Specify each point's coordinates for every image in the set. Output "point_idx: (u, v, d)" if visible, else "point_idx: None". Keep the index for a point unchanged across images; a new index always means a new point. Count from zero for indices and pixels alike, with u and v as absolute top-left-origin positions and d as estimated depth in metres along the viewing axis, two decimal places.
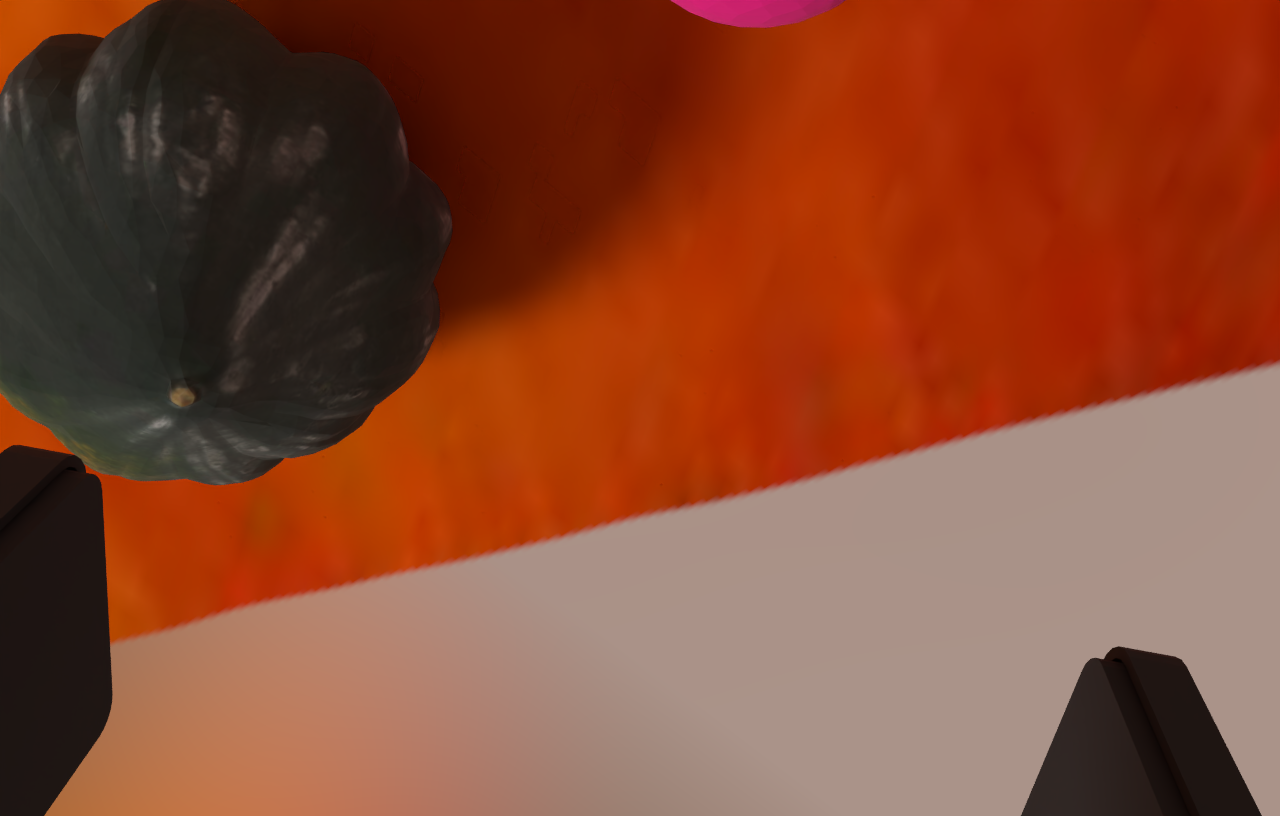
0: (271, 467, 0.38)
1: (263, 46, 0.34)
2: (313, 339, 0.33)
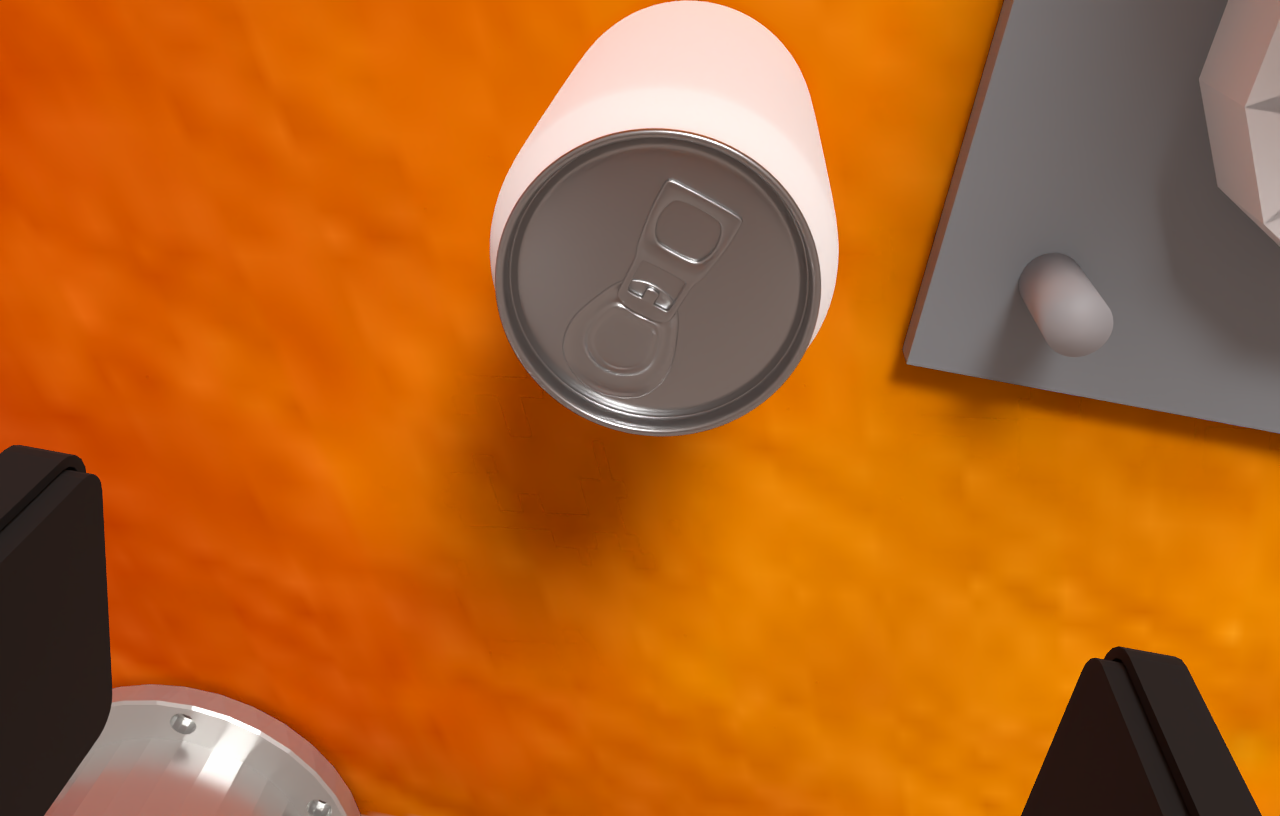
0: None
1: None
2: None
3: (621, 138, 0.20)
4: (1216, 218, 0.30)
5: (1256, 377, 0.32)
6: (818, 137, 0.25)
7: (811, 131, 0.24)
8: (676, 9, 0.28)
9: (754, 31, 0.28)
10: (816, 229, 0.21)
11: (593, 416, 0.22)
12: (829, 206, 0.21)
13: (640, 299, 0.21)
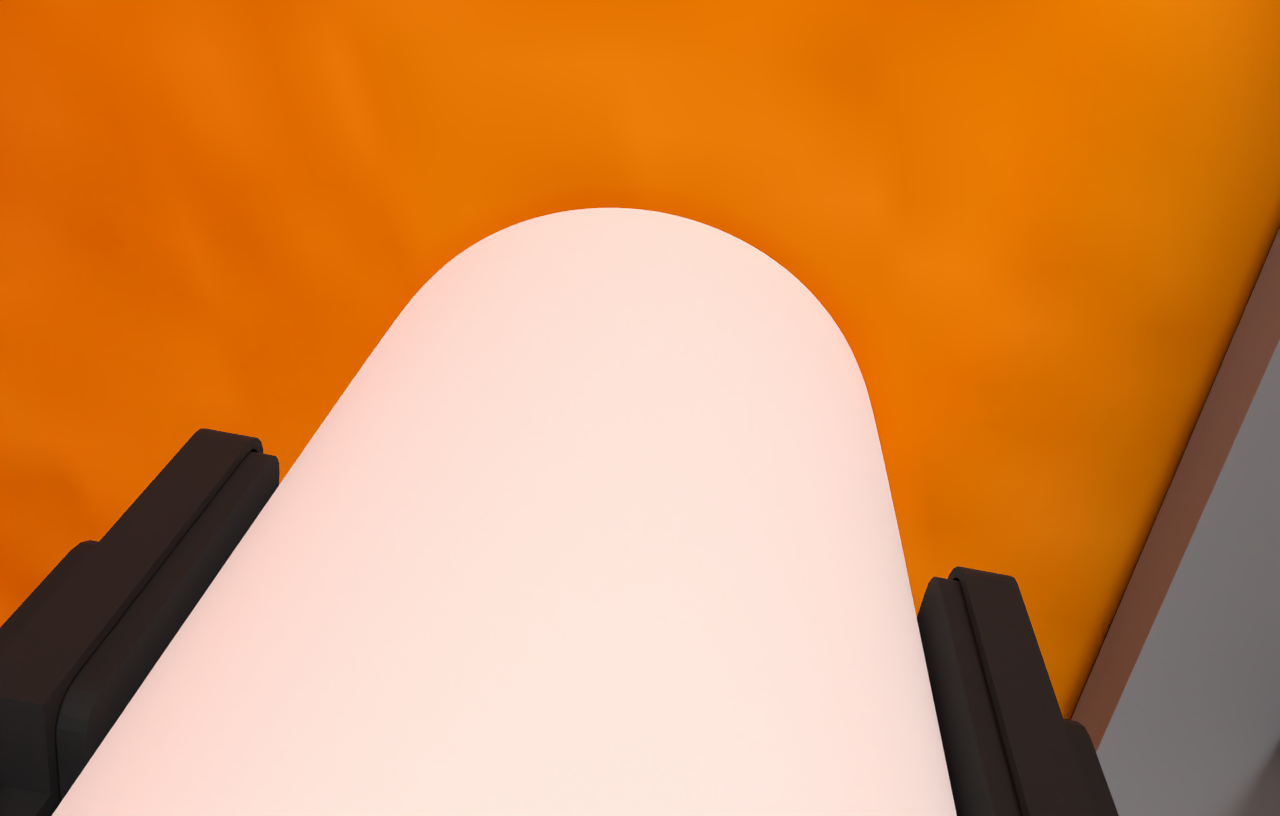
0: None
1: None
2: None
3: None
4: None
5: None
6: (921, 664, 0.10)
7: (917, 731, 0.08)
8: (577, 251, 0.13)
9: (752, 306, 0.12)
10: None
11: None
12: None
13: None
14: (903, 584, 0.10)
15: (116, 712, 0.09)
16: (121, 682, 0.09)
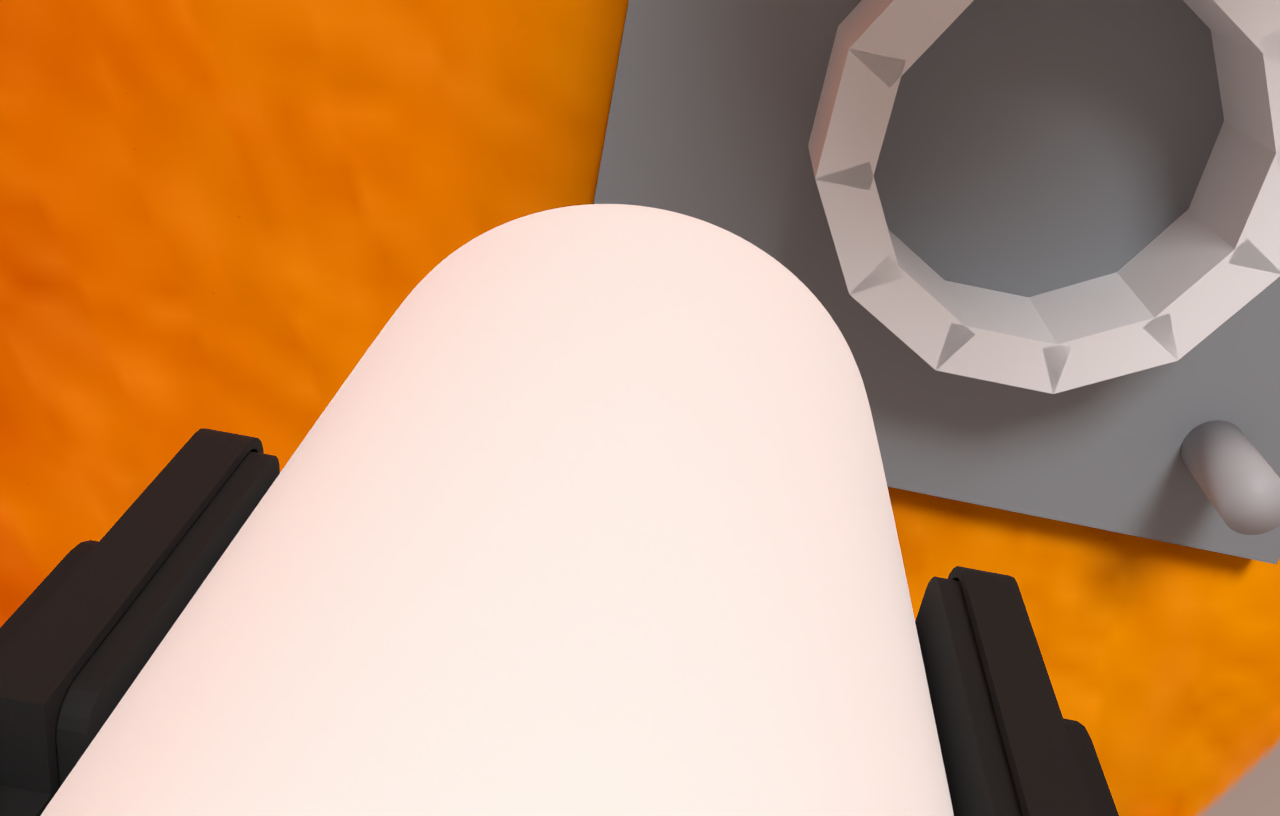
0: None
1: None
2: None
3: None
4: (842, 282, 0.30)
5: (899, 439, 0.32)
6: (918, 660, 0.09)
7: (913, 726, 0.08)
8: (574, 247, 0.12)
9: (749, 302, 0.12)
10: None
11: None
12: None
13: None
14: (900, 580, 0.10)
15: None
16: (122, 682, 0.09)
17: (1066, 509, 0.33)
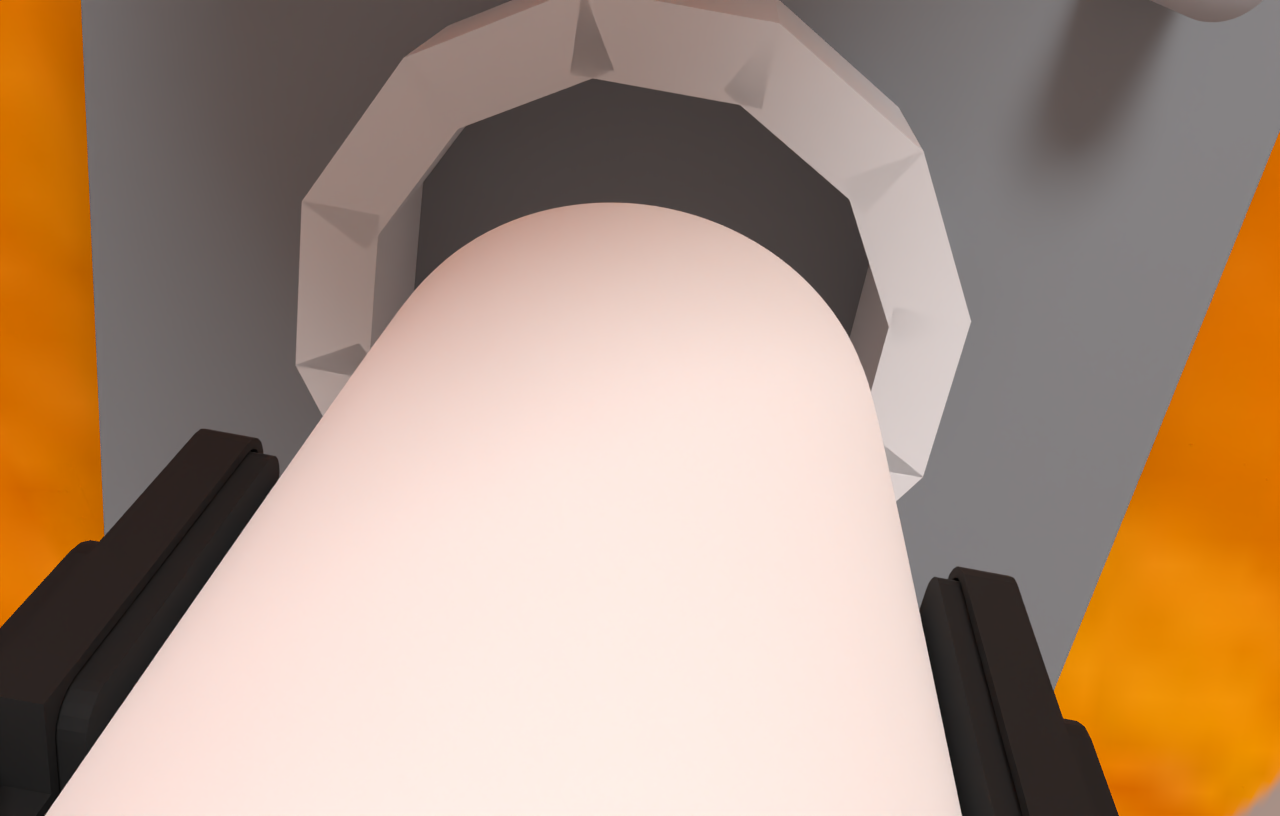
0: None
1: None
2: None
3: None
4: None
5: None
6: (925, 660, 0.09)
7: (922, 727, 0.08)
8: (578, 245, 0.12)
9: (754, 301, 0.12)
10: None
11: None
12: None
13: None
14: (906, 580, 0.10)
15: (116, 711, 0.09)
16: (121, 681, 0.09)
17: None
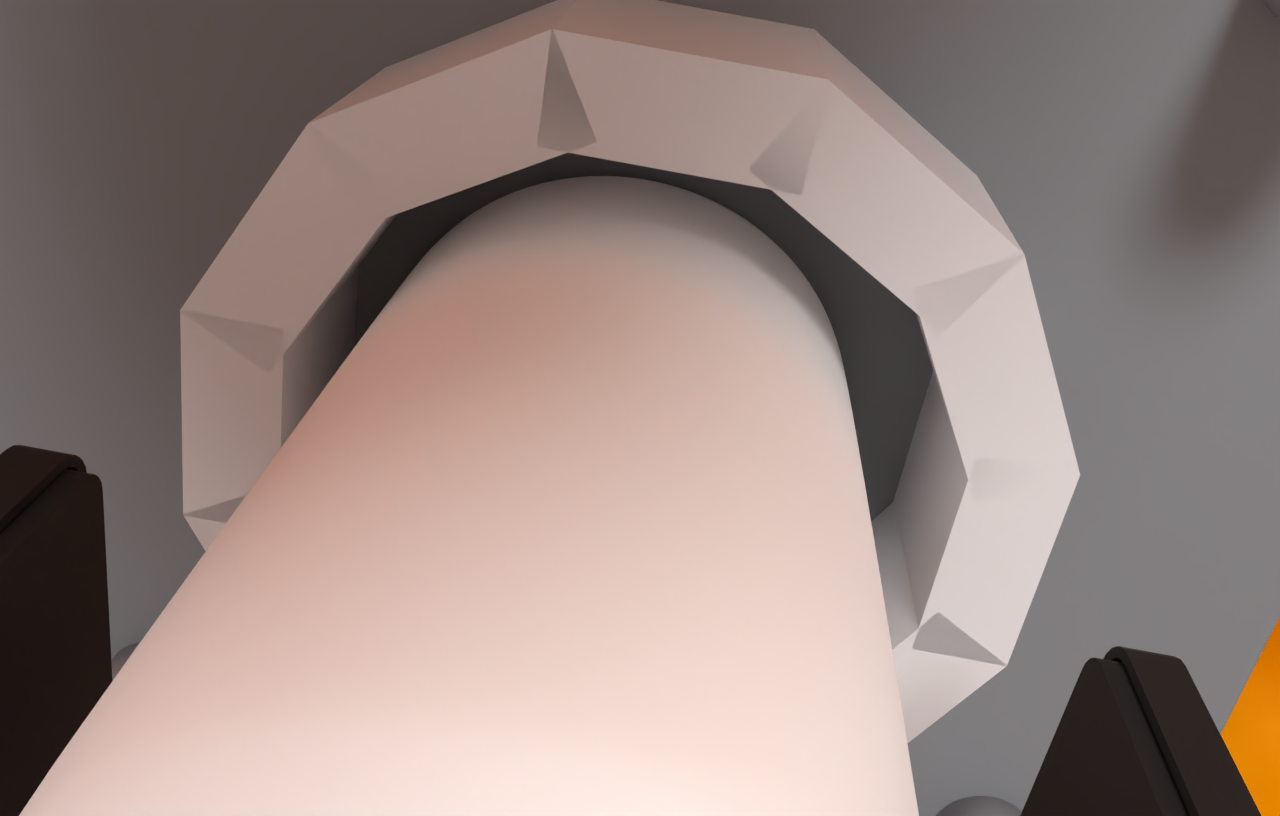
0: None
1: None
2: None
3: None
4: None
5: None
6: (871, 564, 0.11)
7: (860, 608, 0.10)
8: (569, 212, 0.14)
9: (728, 260, 0.14)
10: None
11: None
12: None
13: None
14: (858, 499, 0.12)
15: None
16: None
17: None
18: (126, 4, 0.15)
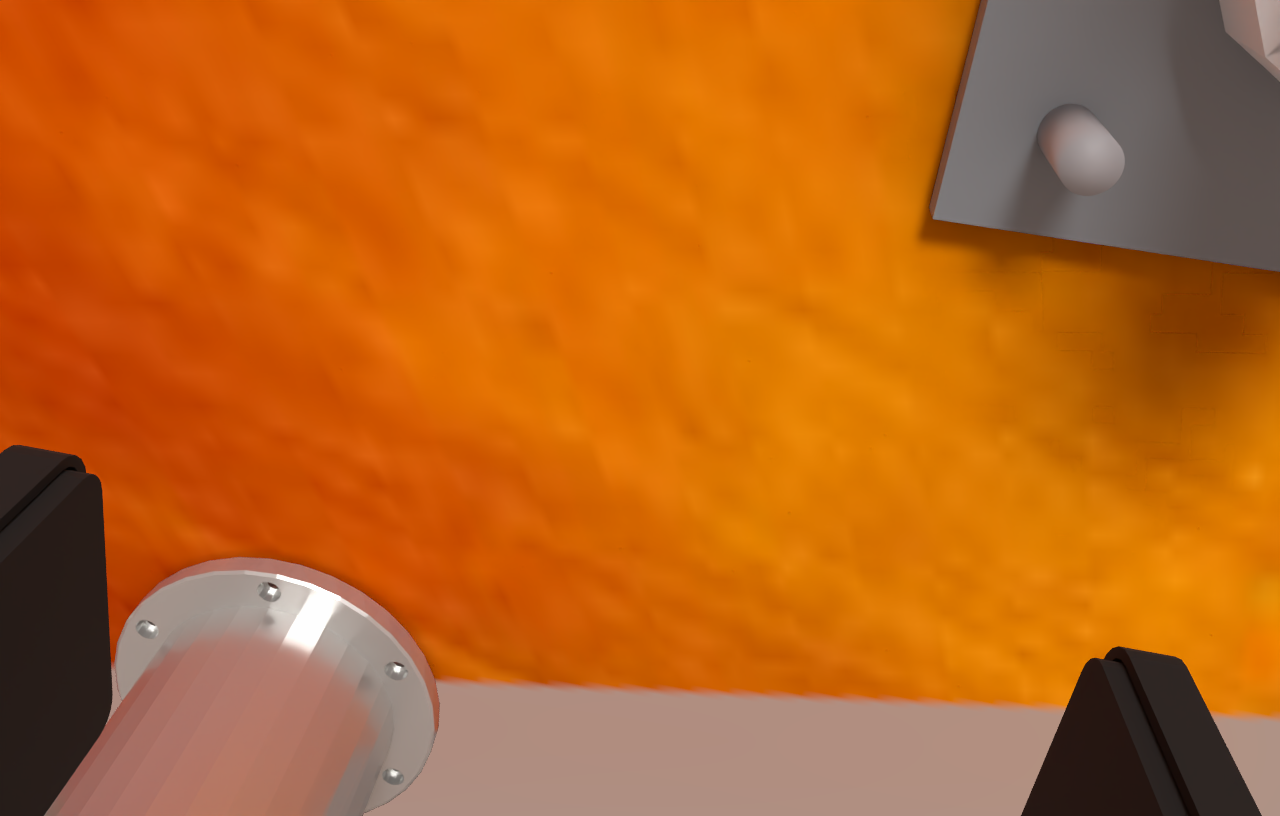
0: None
1: None
2: None
3: None
4: (1225, 63, 0.32)
5: (1267, 219, 0.34)
6: None
7: None
8: None
9: None
10: None
11: None
12: None
13: None
14: None
15: None
16: None
17: None
18: None
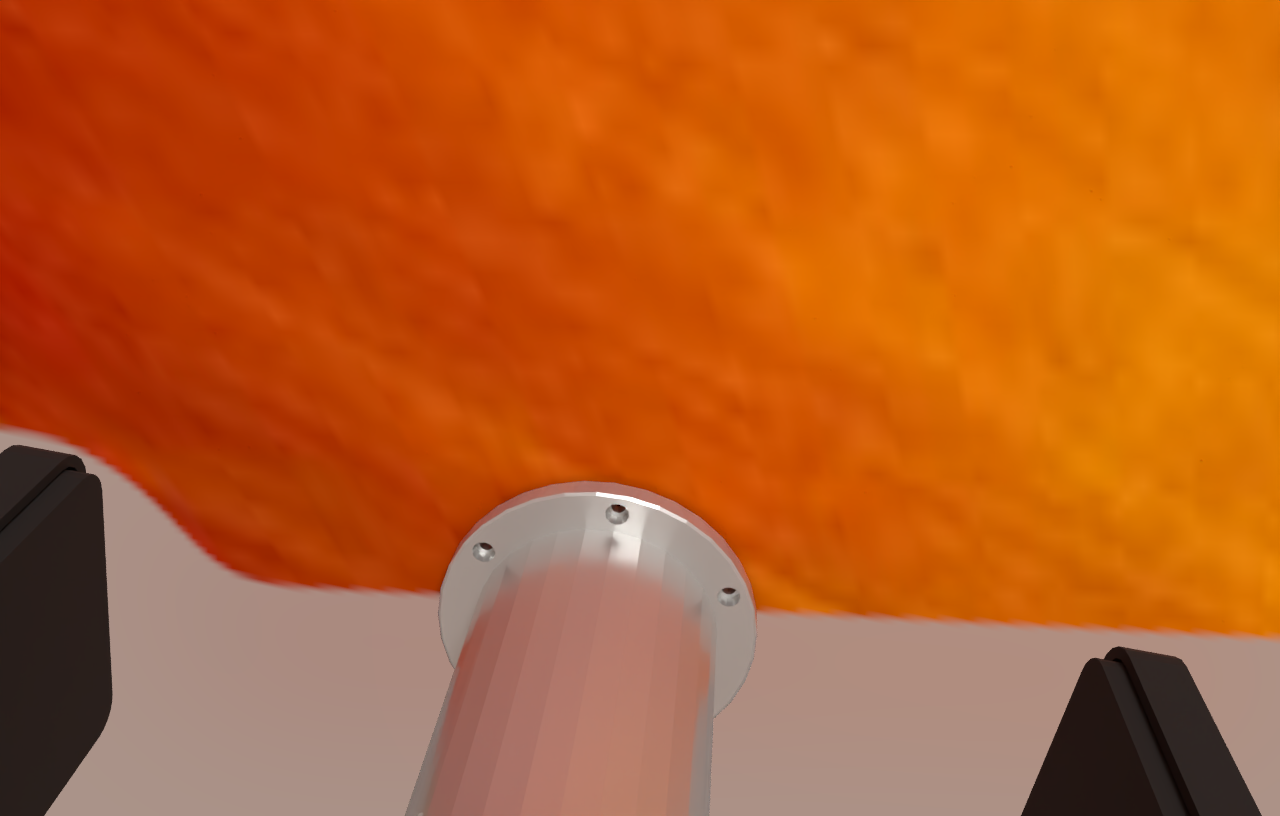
0: None
1: None
2: None
3: None
4: None
5: None
6: None
7: None
8: None
9: None
10: None
11: None
12: None
13: None
14: None
15: None
16: None
17: None
18: None
